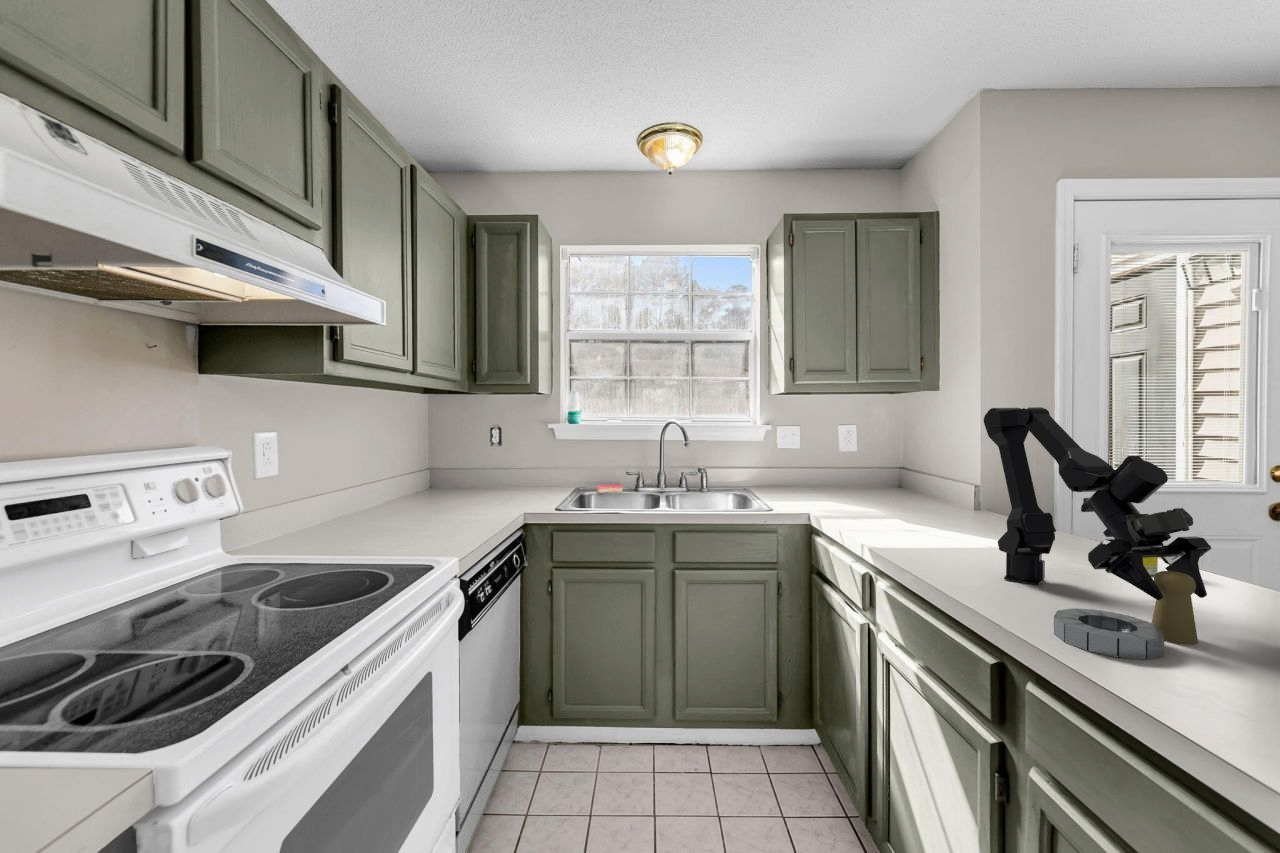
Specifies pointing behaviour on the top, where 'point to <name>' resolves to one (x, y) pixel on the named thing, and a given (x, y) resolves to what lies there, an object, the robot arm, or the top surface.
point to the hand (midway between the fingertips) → (1182, 597)
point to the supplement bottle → (1151, 565)
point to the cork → (1175, 607)
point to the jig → (1109, 633)
